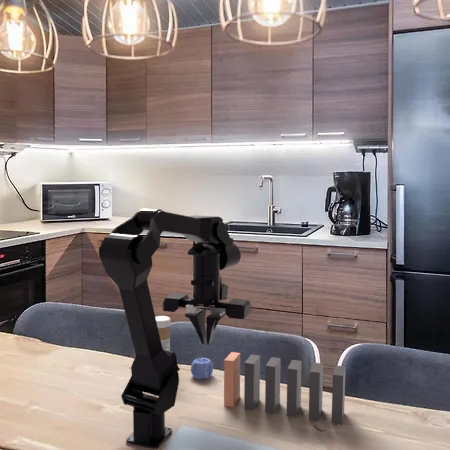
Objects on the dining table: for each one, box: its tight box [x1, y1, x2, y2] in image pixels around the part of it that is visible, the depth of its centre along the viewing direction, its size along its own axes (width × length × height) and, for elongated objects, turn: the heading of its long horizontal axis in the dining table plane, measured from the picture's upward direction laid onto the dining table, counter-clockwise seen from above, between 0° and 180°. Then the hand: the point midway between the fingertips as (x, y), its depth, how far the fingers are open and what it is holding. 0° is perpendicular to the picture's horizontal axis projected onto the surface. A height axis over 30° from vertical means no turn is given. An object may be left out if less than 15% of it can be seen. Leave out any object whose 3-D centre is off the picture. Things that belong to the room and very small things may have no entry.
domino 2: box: [243, 354, 261, 411], centre depth 102 cm, size 2×5×10 cm, turn 161°
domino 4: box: [286, 359, 302, 418], centre depth 99 cm, size 2×5×10 cm, turn 161°
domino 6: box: [330, 364, 347, 426], centre depth 96 cm, size 2×5×10 cm, turn 161°
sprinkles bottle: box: [155, 315, 171, 351], centre depth 120 cm, size 5×5×14 cm
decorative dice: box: [190, 357, 214, 381], centre depth 117 cm, size 4×4×4 cm
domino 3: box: [264, 356, 282, 415], centre depth 101 cm, size 2×5×10 cm, turn 161°
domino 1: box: [223, 351, 241, 408], centre depth 103 cm, size 2×5×10 cm, turn 161°
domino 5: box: [308, 362, 324, 422], centre depth 98 cm, size 2×5×10 cm, turn 161°
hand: (206, 344), depth 105 cm, fingers closed
